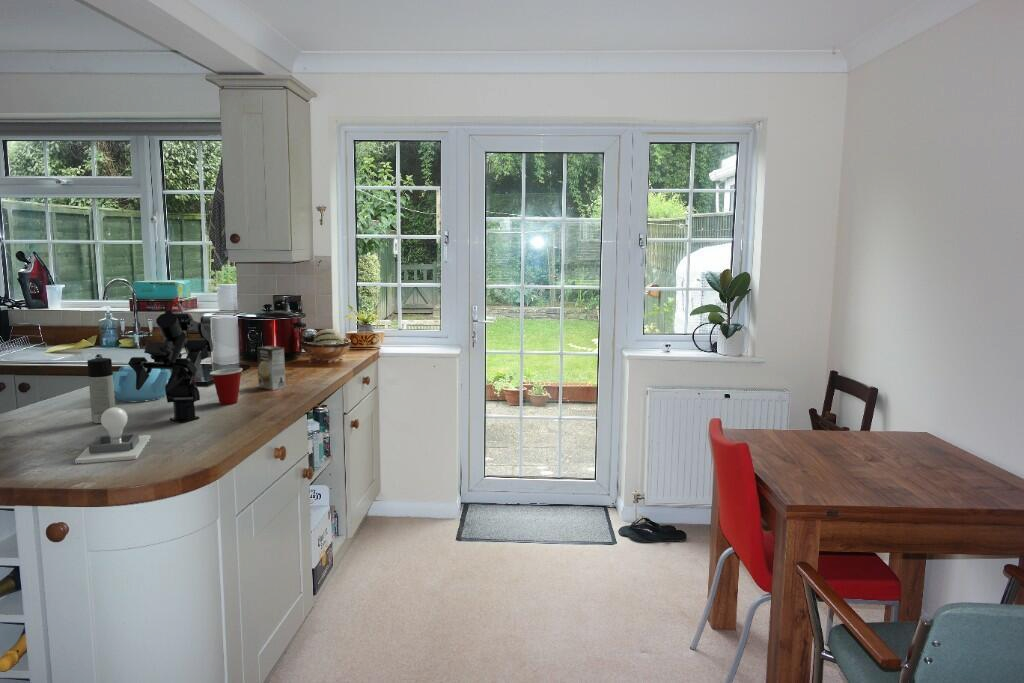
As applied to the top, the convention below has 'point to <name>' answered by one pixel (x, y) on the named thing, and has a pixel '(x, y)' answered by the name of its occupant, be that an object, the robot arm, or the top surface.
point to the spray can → (100, 386)
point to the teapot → (148, 391)
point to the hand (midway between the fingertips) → (151, 389)
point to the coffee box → (271, 367)
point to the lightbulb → (114, 423)
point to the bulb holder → (113, 449)
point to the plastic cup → (227, 384)
